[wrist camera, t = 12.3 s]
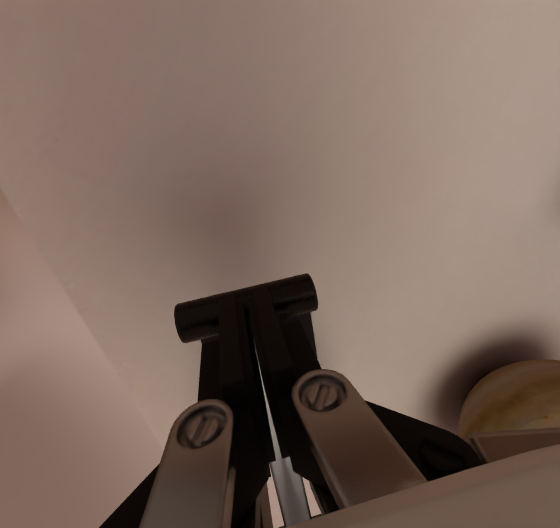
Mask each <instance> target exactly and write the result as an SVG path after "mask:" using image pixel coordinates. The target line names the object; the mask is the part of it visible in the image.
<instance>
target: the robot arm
mask: <svg viewBox="0 0 560 528" xmlns="http://www.w3.org/2000/svg"><path fill="white" fill-rule="evenodd" d="M252 293H253V296H251V297H247V301H248V306H249V312H250V317H251V323H252V328H253V334H254V339H255V344H256V350H257V355H258V360H257V356H256V352H255V348H254V344H253V340H252V336H251V332H250V328H249V324H248V320H247V316H246V312H245V308H244V304H243V300H242V299H238V300H236V297H235V296H233V297H228V298H224V299H220V300H219V339H217V340H213V341H209V342H205V343H203V344H202V352H201V365H200V377H199V390H198V402H197V403H195V404H193V405H192V406H190V407H188V408H187V409H186V410H185V411H183V412H182V413H181V414H180V415H179V417H178V418H177V419H176V420H175V422H174V424H173V426H172V428H171V430H170V433H169V437H168V440H167V443H166V446H165V449H164V452H163V455H162V458H161V461H160V464H159V465H158V466H157V467H156V468H155V469H154V470H153V471H152V472H151V473H150V474H149V475H148V476H147V477H146V478H145V479H144V481H142V483H141V484H140V485H139V486H138V487H137V488H136V489H135V490H134V491H133V492H132V493H131V494H130V495H129V496H128V497H127V499H126V500H125V501H124V502H123V503H122V504H121V505H120V506H119V507H118V508H117V509H116V510H115V511H114V512H113V513H112V514H111V515H110V516H109V518H108V519H107V520H106V521H105V522H104V523H103V524H102V525H101V526H100V527H99V528H260V497H259V493H260V492H261V490H262V489H263V487H264V485H265V484H266V482H267V481H268V477H271V473H270V467H269V463H270V462H274V461H276V457H275V452H274V446H273V441H272V435H271V429H270V424H269V418H268V413H267V407H266V402H265V396H264V391H263V385H264V389H265V393H266V397H267V401H268V405H269V409H270V413H271V417H272V421H273V425H274V429H275V433H276V437H277V441H278V444H279V448H280V452H281V456H282V459H284V458H287V457H290V460H291V464H292V469H293V472H295V473H297V474H298V475H300V476H302V477H304V478H305V479H307V480H309V482H310V486H311V490H312V492H313V494H314V497H315V499H316V501H317V504H318V506H319V508H320V511H321V513H322V516H320V517H317V518H314V519H310V520H307V521H304V522H301V523H298V524H295V525H292V526H289V527H286V528H560V428H559V427H556V428H539V429H522V430H505V431H489V432H472V433H470V436H469V438H460V437H459V436H457V435H455V434H453V433H451V432H449V431H447V430H444V429H442V428H439V427H436V426H433V425H431V424H428V423H425V422H422V421H420V420H417V419H414V418H412V417H409V416H406V415H403V414H401V413H398V412H395V411H393V410H390V409H387V408H384V407H382V406H379V405H376V404H373V403H371V402H368V401H365V400H364V399H363V398H362V397H361V395H360V394H359V393H358V391H357V390H356V389H355V388H354V386H353V385H352V384H351V383H350V381H349V380H348V379H347V378H346V377H345V376H344V375H342V374H340V373H338V372H336V371H333V370H328V369H321V367H320V364H319V362H318V360H317V358H316V356H315V353H314V351H313V349H312V347H311V344H310V342H309V340H308V338H307V336H306V333H305V331H304V329H303V327H302V324H301V322H300V320H299V319H296V320H292V321H288V322H284V323H280V324H279V321H278V318H277V315H276V312H275V309H274V306H273V303H272V300H271V297H270V294H269V291H268V288H266V289H262V290H258V291H254V292H252ZM258 361H259V364H258ZM259 366H260V369H259ZM260 371H261V374H260ZM261 376H262V380H261ZM262 381H263V385H262Z"/></svg>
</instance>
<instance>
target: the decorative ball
mask: <svg viewBox="0 0 560 528" xmlns="http://www.w3.org/2000/svg"><path fill="white" fill-rule="evenodd" d="M556 427H559V428H560V361H559V360H526V361H521V362H515V363H512V364H509V365H506V366H503V367H501V368H499V369H496V370H494V371H492V372H491V373H489V374H488V375H486V376H485V377H483V378H482V379H481V380H480V381H479V382H478V383H477V384H476V385H475V386H474V387H473V388H472V390H471V391H470V392H469V394H468V396H467V398H466V400H465V402H464V404H463V406H462V409H461V412H460V418H459V426H458V436H459V437H460V438H469V436H470V433H472V432H489V431H505V430H522V429H539V428H556Z"/></svg>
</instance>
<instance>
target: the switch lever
mask: <svg viewBox="0 0 560 528" xmlns="http://www.w3.org/2000/svg"><path fill="white" fill-rule="evenodd" d="M266 288H268V291H269V294H270V297H271V300H272V303H273V306H274V309H275V312H276V315H277V318H278V320H280V319H284V318H288V317H292V316H296V315H300V314H304V313H308V312H312V311H316V310H317V309H318V299H317V294H316V290H315V286H314V283H313V281H312V278H311V277H310V275H309V274H307V273H306V274H302V275H297V276H293V277H289V278H285V279H280V280H276V281H272V282H268V283H264V284H259V285H255V286H251V287H247V288H242V289H238V290H234V291H230V292H226V293H221V294H217V295H213V296H209V297H204V298H200V299H196V300H192V301H188V302H183V303H179V304H177V305H176V306H175V310H174V318H175V325H176V329H177V333H178V335H179V337H180V339H181V341H182V342H183V343H188V342H192V341H196V340H200V339H204V338H208V337H212V336H216V335H219V300H220V299H224V298H228V297H233V296H235V297H236V300H238V299H242V300H243V304H244V308H245V312H246V316H247V320H248V324H249V328H250V332H251V336H252V340H253V344H254V348H255V352H256V356H257V360H258V355H257V350H256V344H255V339H254V334H253V328H252V323H251V317H250V312H249V306H248V301H247V297H251V296H253V293H252V292H254V291H258V290H262V289H266ZM258 364H259V361H258ZM259 369H260V366H259ZM260 374H261V371H260ZM261 380H262V376H261ZM262 385H263V381H262ZM263 391H264V396H265V402H266V407H267V413H268V418H269V424H270V429H271V435H272V441H273V446H274V452H275V457H276V461H274V462H270V463H269V464H270V468H271V472H272V476H273V480H274V484H275V488H276V492H277V496H278V500H279V505H280V509H281V513H282V517H283V521H284V525H285V526H282V527H279V528H286V527H289V526H292V525H295V524H298V523H301V522H304V521H307V520H310V519H314V518H317V517H320V516H322V514H319V515H316V516H313V517H311V514H310V509H309V505H308V501H307V496H306V492H305V487H304V483H303V479H302V476H300V475H298V474H297V473H295V472H293V469H292V464H291V460H290V457H287V458H284V459H282V456H281V452H280V448H279V444H278V441H277V437H276V433H275V429H274V425H273V421H272V417H271V413H270V409H269V405H268V401H267V397H266V393H265V389H264V385H263Z"/></svg>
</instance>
